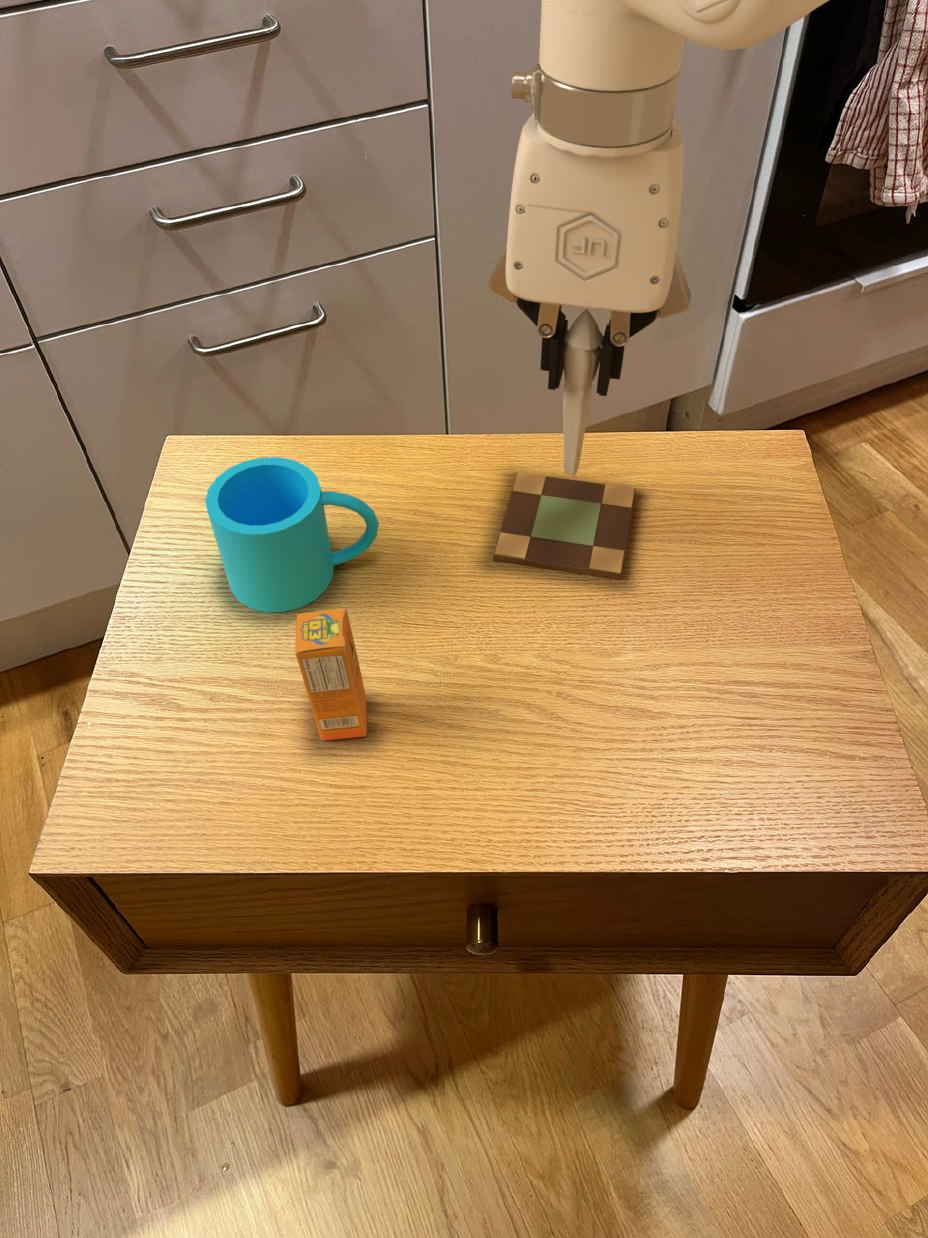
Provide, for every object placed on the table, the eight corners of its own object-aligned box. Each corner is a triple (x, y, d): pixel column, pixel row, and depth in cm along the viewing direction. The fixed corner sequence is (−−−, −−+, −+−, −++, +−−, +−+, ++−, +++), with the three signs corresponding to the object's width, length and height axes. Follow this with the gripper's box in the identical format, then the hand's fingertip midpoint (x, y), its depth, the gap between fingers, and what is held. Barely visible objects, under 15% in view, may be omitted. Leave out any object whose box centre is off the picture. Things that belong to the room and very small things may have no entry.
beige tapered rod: (564, 458, 74) (578, 294, 64) (595, 470, 73) (614, 306, 63) (547, 476, 73) (558, 311, 62) (578, 489, 72) (595, 324, 61)
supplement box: (316, 703, 66) (295, 608, 59) (366, 699, 67) (351, 604, 59) (316, 744, 64) (293, 650, 57) (367, 739, 64) (352, 646, 57)
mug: (228, 619, 72) (204, 541, 65) (228, 542, 77) (205, 463, 71) (388, 598, 73) (379, 519, 66) (377, 524, 78) (368, 445, 72)
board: (634, 493, 80) (636, 487, 79) (620, 580, 74) (621, 573, 73) (516, 476, 81) (516, 470, 81) (492, 560, 75) (492, 554, 75)
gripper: (446, 117, 52) (454, 399, 66) (754, 142, 49) (694, 429, 63) (476, 64, 56) (477, 337, 70) (758, 84, 54) (701, 363, 68)
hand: (580, 379), depth 67 cm, fingers closed on beige tapered rod, 2 cm apart
